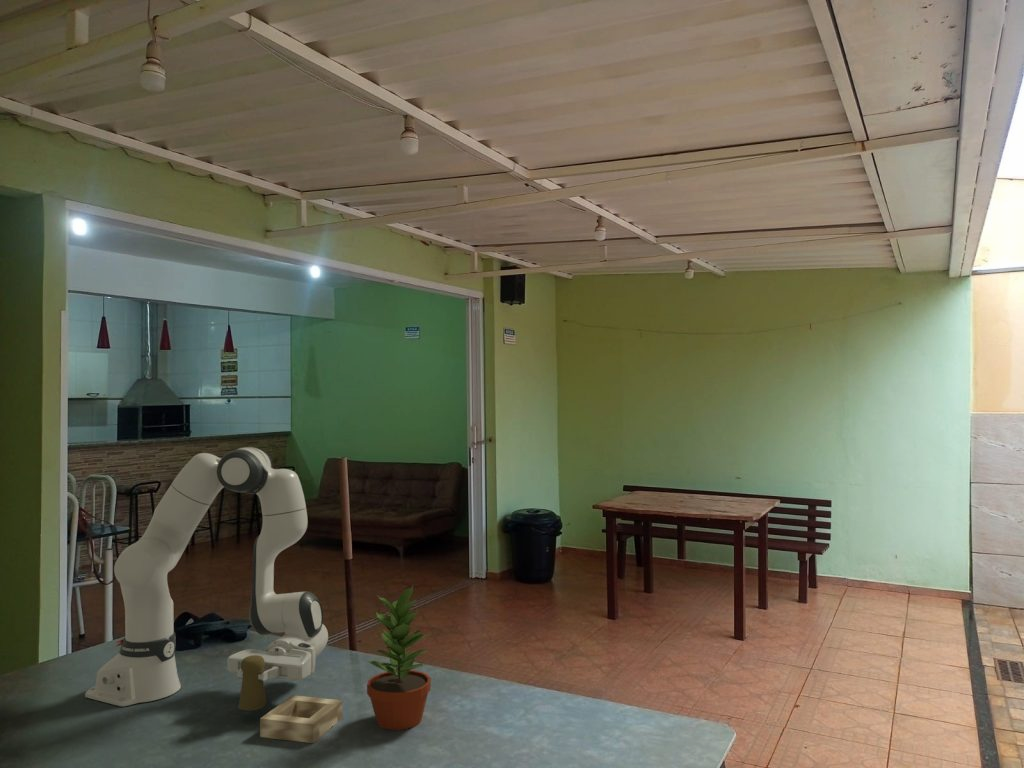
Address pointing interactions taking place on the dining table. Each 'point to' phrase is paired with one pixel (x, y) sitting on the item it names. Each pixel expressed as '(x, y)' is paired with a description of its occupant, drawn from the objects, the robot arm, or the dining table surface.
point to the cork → (252, 684)
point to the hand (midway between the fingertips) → (250, 676)
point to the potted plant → (399, 670)
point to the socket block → (301, 719)
